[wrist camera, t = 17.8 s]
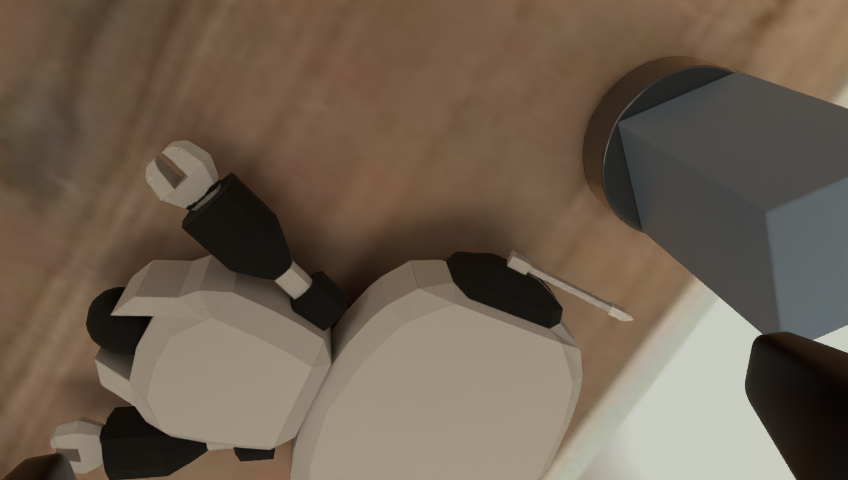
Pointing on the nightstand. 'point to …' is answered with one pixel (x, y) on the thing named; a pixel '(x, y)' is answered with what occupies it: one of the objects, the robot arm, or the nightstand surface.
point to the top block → (750, 198)
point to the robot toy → (324, 356)
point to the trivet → (625, 101)
